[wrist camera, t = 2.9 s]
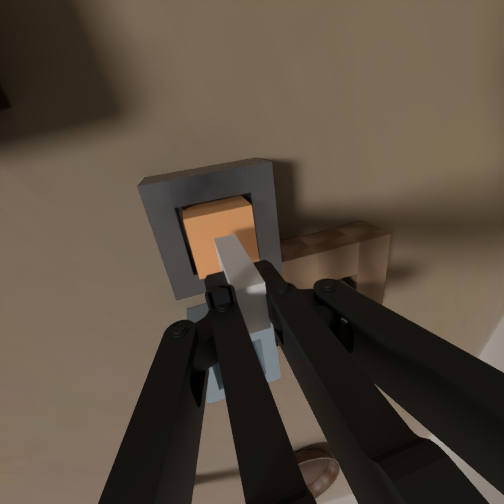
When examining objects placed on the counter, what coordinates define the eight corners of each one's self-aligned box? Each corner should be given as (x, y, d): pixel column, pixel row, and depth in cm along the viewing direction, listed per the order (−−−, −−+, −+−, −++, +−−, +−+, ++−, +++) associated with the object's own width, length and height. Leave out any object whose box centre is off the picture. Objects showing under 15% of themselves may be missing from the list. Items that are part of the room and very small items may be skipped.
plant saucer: (334, 430, 48) (344, 447, 45) (330, 475, 56) (338, 492, 53) (247, 463, 44) (252, 484, 42) (255, 506, 52) (260, 526, 50)
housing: (255, 157, 23) (272, 161, 19) (267, 252, 27) (282, 271, 23) (144, 177, 21) (137, 186, 17) (176, 275, 25) (176, 300, 22)
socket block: (362, 220, 29) (391, 233, 25) (356, 301, 34) (379, 322, 30) (266, 244, 27) (281, 262, 23) (276, 326, 32) (290, 352, 28)
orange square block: (240, 195, 21) (251, 205, 18) (249, 247, 23) (260, 263, 20) (182, 207, 20) (183, 219, 17) (196, 260, 22) (199, 279, 19)
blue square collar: (256, 289, 29) (273, 322, 24) (264, 339, 33) (280, 378, 27) (186, 308, 27) (188, 348, 22) (203, 359, 31) (208, 404, 26)
